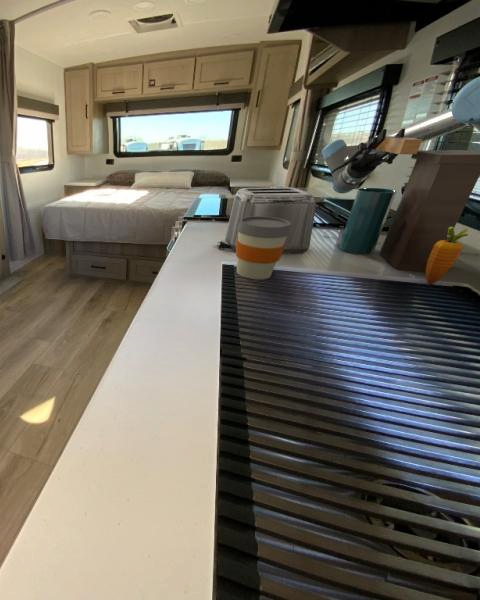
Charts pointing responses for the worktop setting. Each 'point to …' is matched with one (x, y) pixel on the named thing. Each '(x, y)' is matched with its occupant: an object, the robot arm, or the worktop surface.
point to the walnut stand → (430, 205)
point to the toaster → (275, 214)
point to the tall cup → (366, 220)
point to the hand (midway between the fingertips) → (393, 133)
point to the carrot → (443, 256)
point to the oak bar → (399, 145)
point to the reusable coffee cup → (260, 245)
